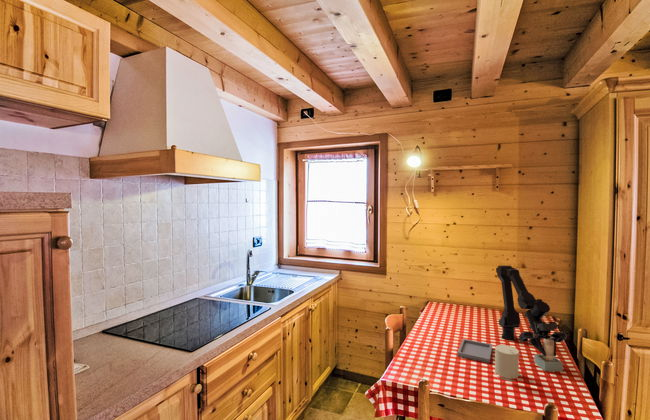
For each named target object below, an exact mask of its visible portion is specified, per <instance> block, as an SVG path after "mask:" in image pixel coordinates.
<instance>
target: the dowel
mask: <svg viewBox="0 0 650 420" xmlns="http://www.w3.org/2000/svg"><path fill="white" fill-rule="evenodd" d="M542 346H543V348H544V350H545V353H546V356H544V355H543V360H544V361H545V362H554V357H555V356H554V341H553V340H551V339H546V338H545V339H542Z"/></svg>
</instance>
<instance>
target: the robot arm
mask: <svg viewBox="0 0 650 420" xmlns="http://www.w3.org/2000/svg"><path fill="white" fill-rule="evenodd" d="M495 272H496V274H497V275H496V276H497V278H498V280H499V281H500V282H501V290H502V298H503V299H502V300H503V306H504V307H503V308H504V309H503V310H502V312H501V317H500V318H499V320H498V325H499V326H500V327H501V328H502V333H501V339H503V340H509V341H516V335H515V329H519V328H520V325H521V319H520V312H518V311H517V310H516V309H515V300H514V293H513V288H514V290H515V292H516V294H517V299H516V300H517V303H518V307H519V308H520V309H521V310H526V311H525V312H524V315H523V317H525V318H526V319H527V320H528V324H529V326H528V328H529V329H530V330H531V331H527V330H526V331H523V332H521V333H520V335H519V336H518V340H519V342H521V343H526V342H528V341H529V342H528V343H529V344H531V345H532V346H533V347H534V348H536V350H537V351H538V352H539V353H540V354H543V355H544V356H546V353H545V350H544V348H543V343H542V340H543V339H545V338H546V339H551V340H553V341H554V357H556V356H557V346H556V345H557V343H561V342H563V341H565V340H566V339H567V334H566V333H565V332H563V331H555V330H557V329H558V324H557V323H556V321H549V323H546V322H545V321H544V320H543V319H542V318H544V317H545V316H546V315H547V314H548V313H549V312H550V311H551V306H550V305H549V304H548V303H547V302H545V301H543V299H541V298H537V299H536V297H535V296H534V295H533V294H532V293H531V292H529V291H528V289H527V287H526V284H525V282H524V281H523V279H522V276H521V275H520V271H519V269H518V268H516V267H512V265H498V266H497V267H496V269H495ZM551 332H553V333H551ZM550 333H551V334H550Z"/></svg>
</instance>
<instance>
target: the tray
mask: <svg viewBox="0 0 650 420" xmlns="http://www.w3.org/2000/svg"><path fill="white" fill-rule="evenodd" d="M492 350H493V344H492V343H488V342H487V343H486V342H482V341H476V340H472V339H466V338H462V340H461V343H460V345H459V348H458V350H457V357H459V358H464V359H468V360H472V361H478V362H481V363H486V364H490V362H491V357H492V352H493V351H492Z"/></svg>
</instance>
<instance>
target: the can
mask: <svg viewBox="0 0 650 420" xmlns="http://www.w3.org/2000/svg"><path fill="white" fill-rule="evenodd" d="M494 350H495V351H494V353H495V356H494V358H495V359H494V375H497V376H496V377H497V378H498V379H501V380H504V381H506V382H517V381H516V379H517V378H518V377H519V375H520V374H519V368H520V367H519V365H520V364H519V360H520V350H519V349H517V348H516V347H514V346H511V345H508V344H507V345H506V344H498V345H496V346H495V347H494Z"/></svg>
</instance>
